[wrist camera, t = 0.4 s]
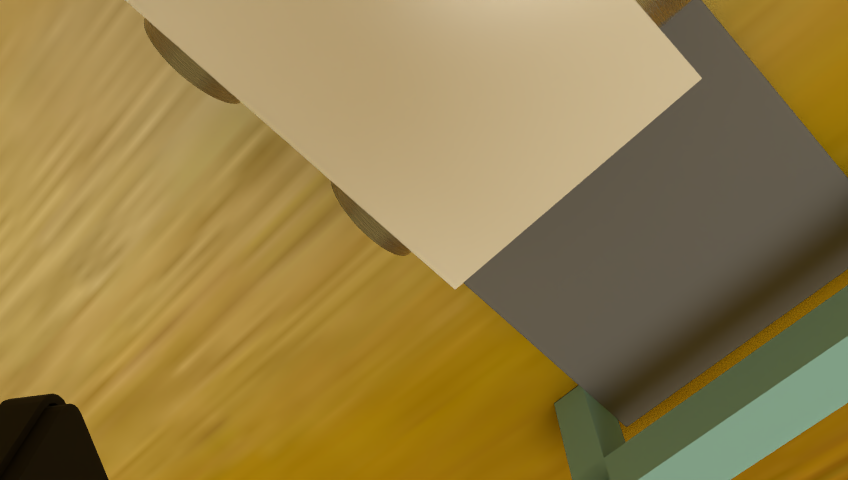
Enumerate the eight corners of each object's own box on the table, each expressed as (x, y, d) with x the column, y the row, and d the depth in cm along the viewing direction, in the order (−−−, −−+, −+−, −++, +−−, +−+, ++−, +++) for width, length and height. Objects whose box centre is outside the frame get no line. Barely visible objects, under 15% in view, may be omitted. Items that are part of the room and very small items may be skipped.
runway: (124, -811, 25) (-6, -1097, 17) (925, 205, 40) (1043, 291, 33) (-198, -243, 31) (-396, -267, 24) (597, 440, 47) (632, 559, 39)
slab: (373, -296, 26) (368, -311, 23) (677, 57, 31) (702, 78, 28) (146, -19, 30) (120, -4, 27) (451, 254, 35) (455, 289, 32)
